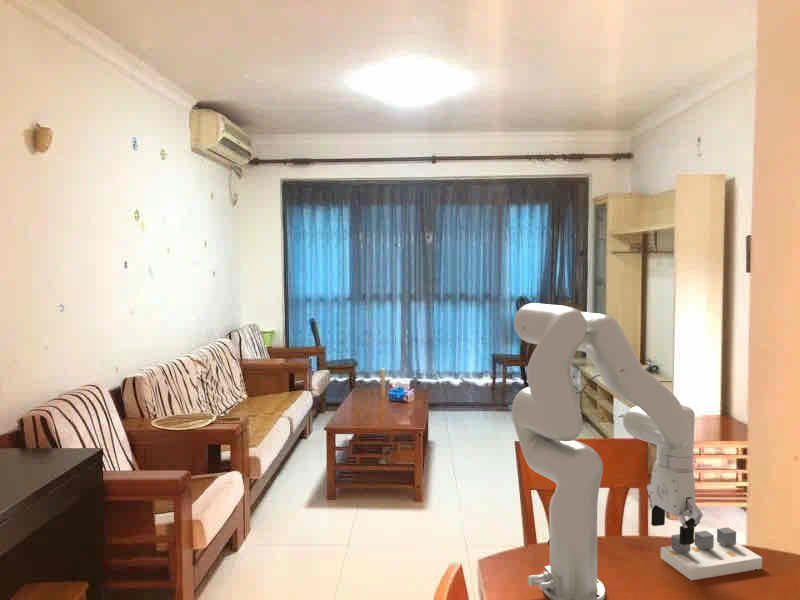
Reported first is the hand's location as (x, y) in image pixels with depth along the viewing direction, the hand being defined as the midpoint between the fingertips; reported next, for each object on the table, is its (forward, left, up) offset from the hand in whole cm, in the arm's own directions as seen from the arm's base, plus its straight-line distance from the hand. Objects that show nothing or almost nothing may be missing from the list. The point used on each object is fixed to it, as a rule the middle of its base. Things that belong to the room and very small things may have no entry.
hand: (671, 534), depth 138 cm
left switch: (+1, -2, -3) cm, 4 cm away
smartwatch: (-23, +9, -6) cm, 25 cm away
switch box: (+7, -4, -6) cm, 10 cm away
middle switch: (+7, -2, -3) cm, 8 cm away
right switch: (+13, -2, -3) cm, 13 cm away
